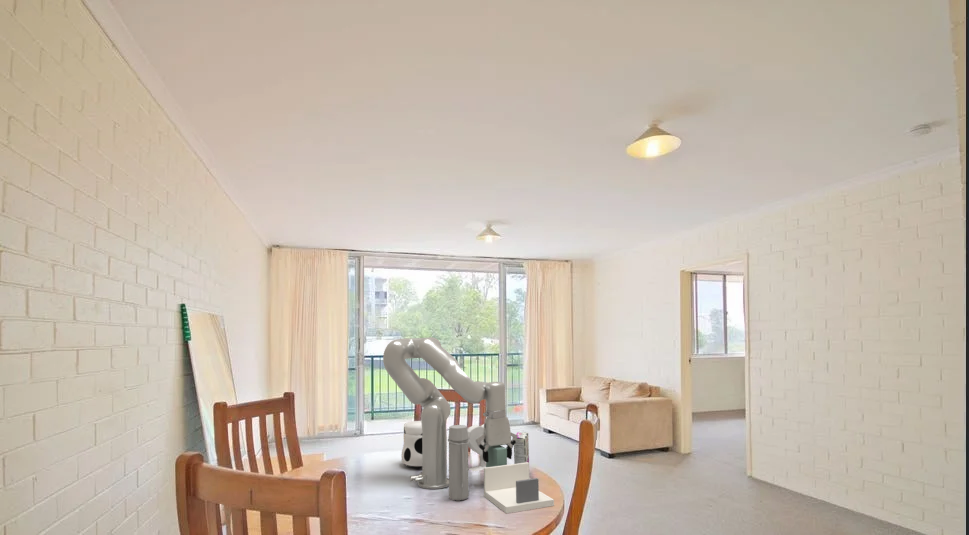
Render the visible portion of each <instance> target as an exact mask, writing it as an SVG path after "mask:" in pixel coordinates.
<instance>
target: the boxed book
mask: <svg viewBox="0 0 969 535" xmlns="http://www.w3.org/2000/svg"><path fill="white" fill-rule="evenodd" d="M487 451H488V459H489V462H485V465H486V467H494V466H502V465H508V458H507V448H506V447H504V445H499V446H490V447H489V448H488V450H487Z"/></svg>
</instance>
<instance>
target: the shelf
mask: <svg viewBox="0 0 969 535" xmlns="http://www.w3.org/2000/svg"><path fill="white" fill-rule="evenodd" d="M539 487H540V486H539V478H538V477H535V478H531V477H530V462H529V463H528V462H526V463H518V464H514V463H512V464H511V463H510V464H507V465H502V466H494V467H486V468H484V470H483V497H484V498H485V497H486V500H488V501H489V500H490V501H489V502H491V503H492V504H493V505H495V506H496V507H497V508H498V509H500V511H502V510H503V512H504V514H506V513H507V514H512V512H513V513H518V512H524V511H530V509H531V510H536V508H537V509H541V508H542V509H543V508H549V507H555V500H554V499H553V498H552V497H550V496H548V495H547V494H545V493H544V492H542V491H540V489H539Z"/></svg>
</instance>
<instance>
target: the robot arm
mask: <svg viewBox="0 0 969 535" xmlns="http://www.w3.org/2000/svg"><path fill="white" fill-rule="evenodd" d="M407 359H422V360H424V361H425V363H426V364H428V365H429V366H430V367H431V368H432V369H433V370H434V371H436V372H437V373H438V374H439V375H440V376H441V377H442V378H443V379H444V381H445V382H446V383H447V384H448V385H449V386H450V387H451V388H452V389H453V391H455V392H456V394H458V395H459V396H460V397H461V398H463V400H465V401H466V402H467V403H470V404H478V403H480V402H482V401H484V400H485V405H486V408H485V412H483V414H482V415H483V417H486V418H484V423H483V424H484V434H483V435H482V436H481V437H479V438H478V439H476V443H477V445H478V447H479V448H480V449H481V450H483V460H484V461H485V463H486V462H489V459H488V451H487V450H488V448H489V447H490V446H499V445H501V446H505V445H506V447H505V448H507V459H509V460H512V456H513V449H514V444H515V443H516V440H517V437H518V436H517V435H516V434H515V433H513V432H511V425H510V419H509V417H508V416H507V413H506V412H507V409H506V386H505V383H503V382H502V381H491V382H487V381H478V380H477V381H474V380H473V379H472V378H471V377H470V376H468V375H467V374H466V373H465V372H464V370H463V369H462V368H461V366H460V363H459V361H458V360H457V359H456V358H455V357H454V356H453V355H452V354H450V353H449V352H448V351H447V350H446V349H445V348H444V347H443V346H442V344H441V342H440V341H439V339H437V338H436V337H433V336H432V337H431V336H429V337H413V338H411V337H410V338H409V337H408V338H397V339H393V340H391V341H390V342H389V343H388V344H387V345H386V347H385V348H384V351H383V357H382V362H383V366H384V368H385V370H386V372H387V373H388V376H389V377H390V378H391V379H392V380H393V381H394V383H395V384H396V385H397V387H398V388H399V389H400V391H401V392H402V393H403V394H404V395H405V397H406V398H407V400H408V401H409V402H410V403H412V404H414V405H420V406H421V407H422V411H421V415H420V418H421V419H420V421H421V423H422V468H421V469H422V471H420V473H419V474H417V475H410V476H409V480H410V482H415V483H417V484H418V486H419V487H420V488H423V489H427V490H437V489H443V488H447V487H449V477H448V475H447V473H448V472H447V470H448V468H447V467H448V465H447V464H448V460H447V459H448V456H447V453H448V450H447V449H448V448H447V447H448V446H447V445H448V439H447V438H448V437H447V436H448V435H447V420H448V418H449V417H450V415H451V410H452V409H451V405H450V403H449V401H447V399H446V397H445V396H444V395H443V394H442V393H441V391H440V390H439V389H438V388H437V387H436V386H435V384H434V383H433V382H432V381H431V380H429V379H428V378H423V377H420V376H419V375H418V374H417V373H416V371H414V369H413V368H412V366H410V365H409V364H408V363H407V361H406V360H407ZM482 440H484V445H482V444H481V441H482Z"/></svg>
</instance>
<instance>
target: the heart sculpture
mask: <svg viewBox="0 0 969 535" xmlns="http://www.w3.org/2000/svg"><path fill="white" fill-rule="evenodd" d="M467 431H468V439H469V440H470V442H469V440H468V442H469V443H468V449H471V451H472V452H474V453H477V454H478V455H479V466H478V465H477V466H474V467H470V468H469V467H468V469H469V470H472V471H471V472H474V471H475V472H478V471H484V468H486V462H485V461H484V460H483V450H481V449H480V448H479V447H478V445H477V443H476V439H478V438H479V437H481V436H482V435H483V434H484V423H483V424H481V425H476V424H475V425H472V426H469V427H467ZM481 444H482V445H484V440H482V441H481ZM469 470H468V471H469Z"/></svg>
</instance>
